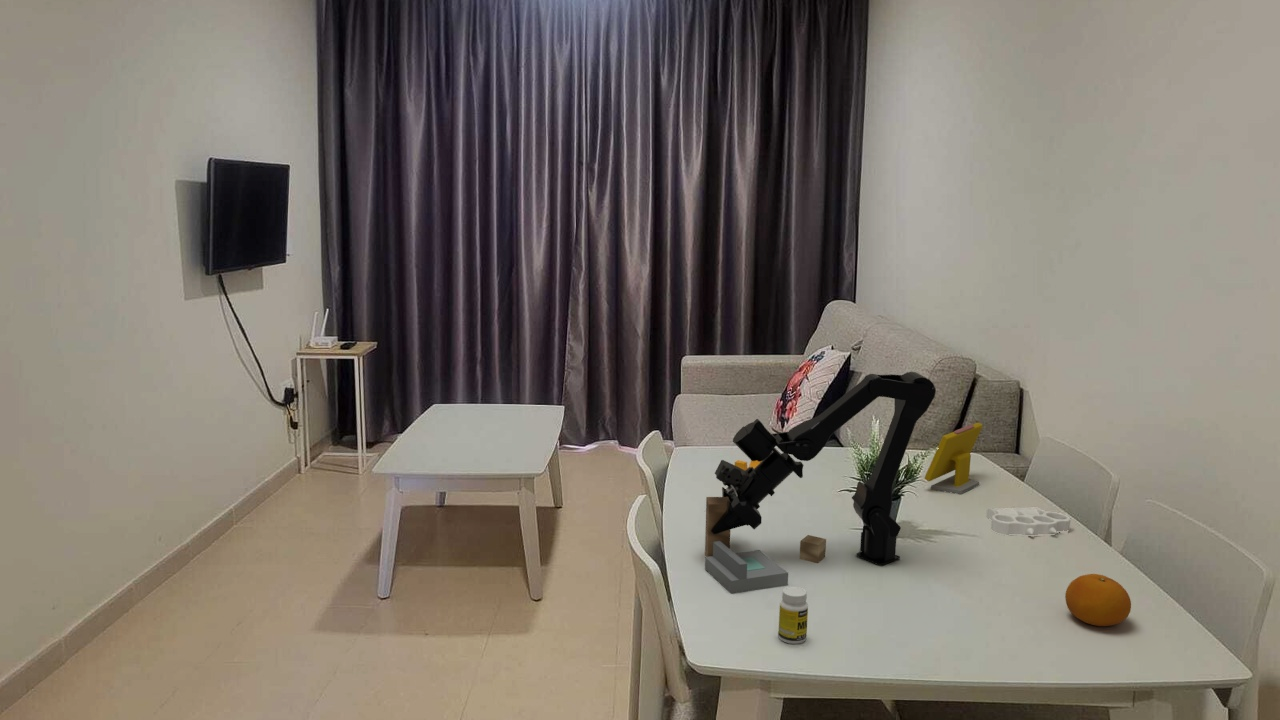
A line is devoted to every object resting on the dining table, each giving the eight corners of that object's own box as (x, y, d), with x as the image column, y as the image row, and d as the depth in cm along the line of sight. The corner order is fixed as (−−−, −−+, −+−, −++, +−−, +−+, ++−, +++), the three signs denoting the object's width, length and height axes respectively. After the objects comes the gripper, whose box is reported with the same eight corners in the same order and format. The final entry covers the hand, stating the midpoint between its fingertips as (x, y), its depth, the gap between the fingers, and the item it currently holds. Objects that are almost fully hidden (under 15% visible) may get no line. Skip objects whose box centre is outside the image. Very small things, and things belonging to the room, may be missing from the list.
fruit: (1143, 631, 161) (1148, 587, 159) (1089, 636, 159) (1094, 592, 157) (1101, 605, 171) (1106, 564, 169) (1051, 609, 169) (1055, 568, 167)
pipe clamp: (749, 489, 235) (749, 464, 234) (733, 486, 237) (734, 462, 236) (769, 477, 245) (770, 454, 244) (754, 474, 247) (755, 451, 246)
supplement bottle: (799, 647, 153) (802, 599, 152) (773, 639, 156) (775, 593, 154) (810, 635, 157) (813, 589, 156) (785, 628, 160) (787, 583, 158)
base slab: (758, 561, 189) (759, 535, 188) (787, 584, 178) (788, 557, 177) (704, 569, 185) (705, 542, 184) (731, 593, 174) (732, 565, 173)
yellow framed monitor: (958, 475, 249) (963, 418, 246) (987, 481, 243) (992, 423, 241) (923, 491, 235) (927, 431, 232) (952, 498, 229) (957, 437, 226)
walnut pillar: (726, 554, 192) (728, 496, 190) (729, 563, 188) (731, 504, 185) (704, 554, 192) (706, 496, 190) (707, 563, 188) (708, 504, 185)
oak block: (825, 557, 192) (826, 539, 191) (817, 563, 188) (818, 545, 188) (807, 553, 194) (808, 534, 193) (799, 559, 191) (800, 540, 190)
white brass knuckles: (1044, 516, 219) (1082, 539, 205) (972, 519, 216) (1006, 542, 202) (1045, 502, 218) (1083, 524, 204) (974, 505, 216) (1007, 528, 201)
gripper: (733, 436, 195) (680, 486, 197) (746, 462, 177) (687, 517, 178) (769, 472, 197) (716, 522, 198) (786, 501, 178) (727, 556, 180)
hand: (711, 528), depth 189 cm, fingers closed on walnut pillar, 4 cm apart
